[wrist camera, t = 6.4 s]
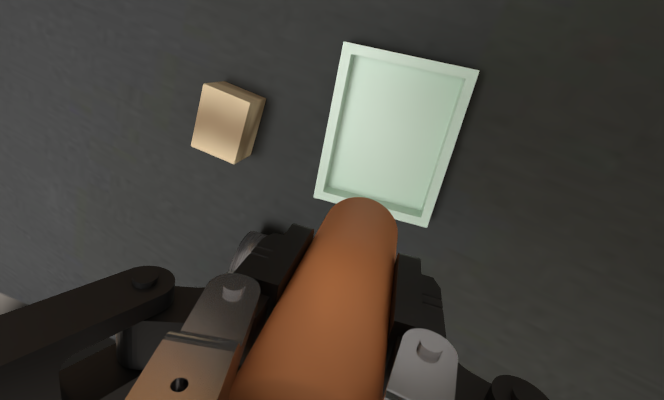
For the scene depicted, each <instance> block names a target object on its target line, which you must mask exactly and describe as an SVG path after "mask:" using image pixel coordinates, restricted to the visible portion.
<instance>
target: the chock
mask: <svg viewBox="0 0 664 400" xmlns="http://www.w3.org/2000/svg"><path fill="white" fill-rule="evenodd" d="M265 102H266V98H264V97H261V96H259V95H256V94H254V93H252V92H249V91H247V90H244V89H242V88H239V87H237V86H235V85H232V84H230V83H227V82H225V81H222V82H213V83H204V84H203V89H202V94H201V99H200V104H199V109H198V114H197V118H196V123H195V128H194V133H193V138H192V143H191V146H192V147H194V148H197V149H199V150H201V151H204V152H206V153H209V154H211V155H213V156H216V157H218V158H220V159H223V160H225V161H227V162H230V163H232V164H236V163H237V162H239V161H241V160H243V159H244V158H246V157H248V156H250V155H251V152H252V149H253V145H254V141H255V138H256V134H257V131H258V127H259V123H260V120H261V116H262V113H263V109H264V106H265Z"/></svg>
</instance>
